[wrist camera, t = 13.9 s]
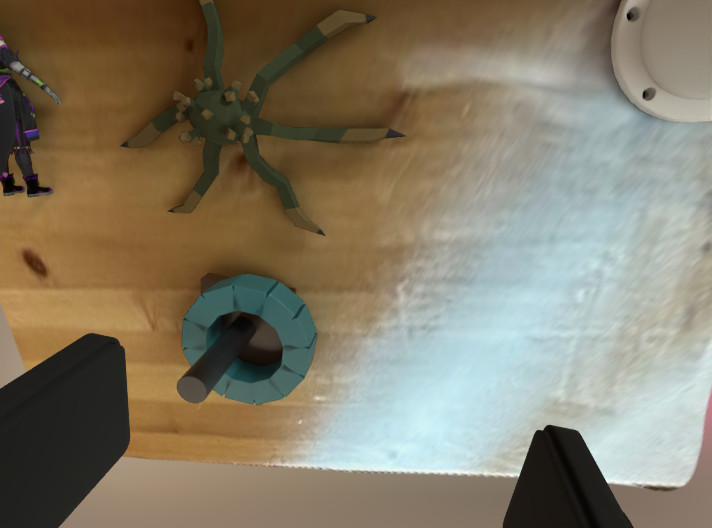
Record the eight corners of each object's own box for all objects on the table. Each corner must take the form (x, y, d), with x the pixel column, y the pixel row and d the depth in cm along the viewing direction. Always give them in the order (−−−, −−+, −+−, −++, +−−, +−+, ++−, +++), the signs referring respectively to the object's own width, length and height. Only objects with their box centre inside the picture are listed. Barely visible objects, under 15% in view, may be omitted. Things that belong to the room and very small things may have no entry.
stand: (296, 288, 39) (252, 349, 29) (289, 367, 42) (246, 449, 32) (208, 272, 40) (132, 326, 29) (206, 351, 43) (138, 425, 32)
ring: (324, 290, 38) (317, 303, 35) (306, 396, 42) (299, 416, 39) (201, 263, 38) (184, 273, 35) (195, 369, 42) (179, 387, 40)
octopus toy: (124, 198, 39) (45, 217, 31) (123, -53, 32) (22, -116, 24) (379, 256, 37) (369, 293, 29) (436, 5, 30) (444, -41, 22)
